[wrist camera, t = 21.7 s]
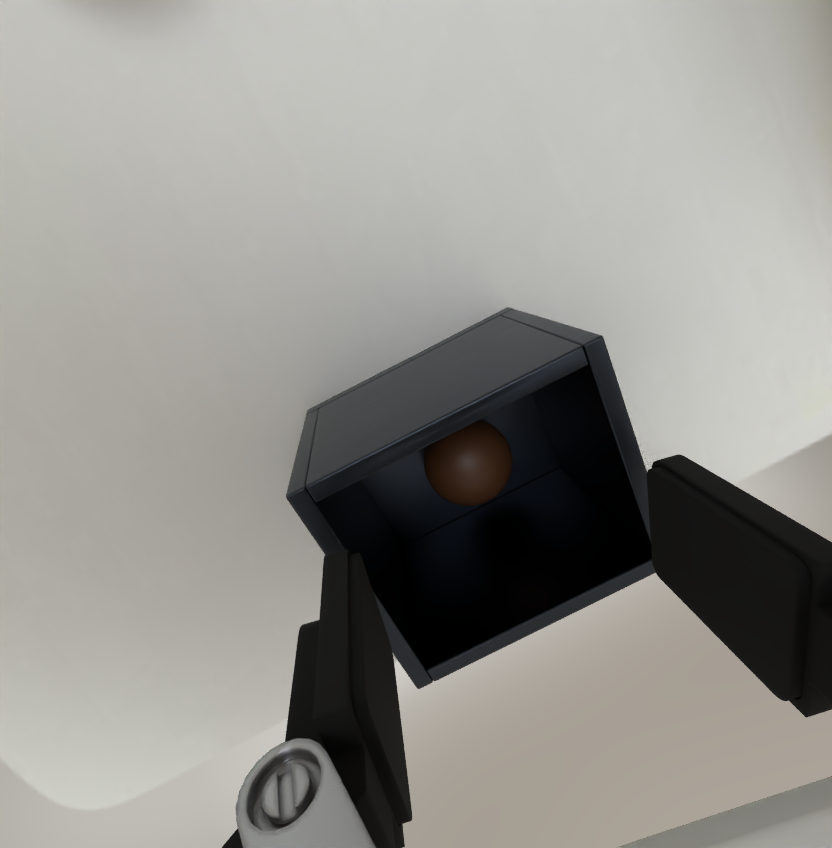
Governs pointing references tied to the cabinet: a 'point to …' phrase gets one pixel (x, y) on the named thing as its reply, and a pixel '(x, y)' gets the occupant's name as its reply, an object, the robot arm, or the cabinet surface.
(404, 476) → the waste bin
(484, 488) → the ball
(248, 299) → the cabinet surface
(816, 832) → the robot arm
